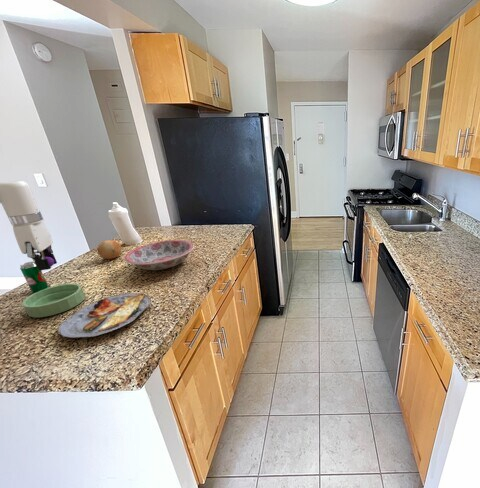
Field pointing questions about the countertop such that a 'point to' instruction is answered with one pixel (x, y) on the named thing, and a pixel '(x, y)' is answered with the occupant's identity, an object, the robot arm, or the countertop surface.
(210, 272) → the countertop surface
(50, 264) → the ball
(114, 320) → the food plate
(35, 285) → the soda can
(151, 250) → the ceramic bowl
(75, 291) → the green bowl
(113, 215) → the white squeeze bottle
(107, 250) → the onion
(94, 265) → the countertop surface
